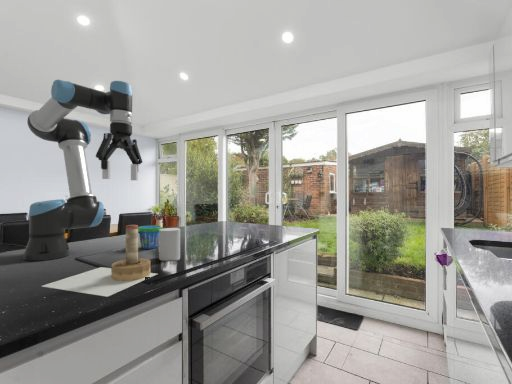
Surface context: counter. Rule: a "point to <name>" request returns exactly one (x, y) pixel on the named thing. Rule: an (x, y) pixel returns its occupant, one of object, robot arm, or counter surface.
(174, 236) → the grey rounded block
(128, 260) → the beige cylinder
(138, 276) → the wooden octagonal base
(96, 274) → the mat
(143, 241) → the snack cup
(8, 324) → the counter surface
